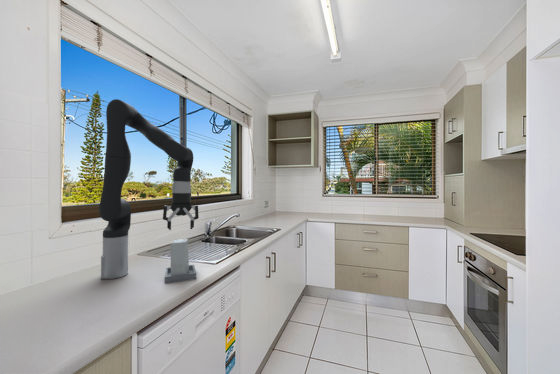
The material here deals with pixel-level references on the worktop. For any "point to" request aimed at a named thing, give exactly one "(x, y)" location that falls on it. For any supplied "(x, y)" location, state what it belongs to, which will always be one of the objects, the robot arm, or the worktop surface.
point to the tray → (181, 277)
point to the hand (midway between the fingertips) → (180, 229)
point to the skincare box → (179, 257)
